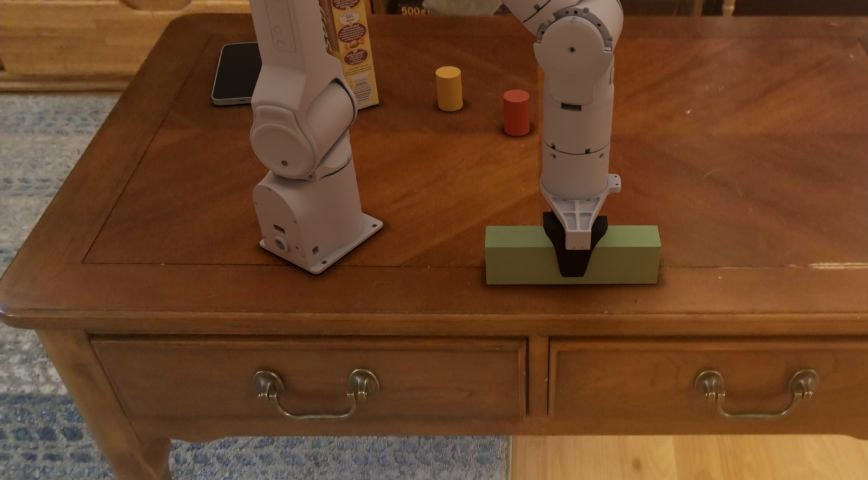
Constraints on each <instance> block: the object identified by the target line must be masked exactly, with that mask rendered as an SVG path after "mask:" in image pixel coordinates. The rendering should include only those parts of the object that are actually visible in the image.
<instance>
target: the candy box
mask: <svg viewBox="0 0 868 480" xmlns="http://www.w3.org/2000/svg"><path fill="white" fill-rule="evenodd" d="M318 1H319V7H320V13H321V19H322V26H323V32H324V38H325V44H326V51H327V53H328V54H329V55H331V56H333V57H335V58H336V59H338V60H339V61H341V63H342V68H343V74H344V77H345V80H346V82H347V84H348V85H349V87H350V88H351V90H352V91H353V93H354V95H355V98H356V101H357V106H358V111H359V110H362V109H365V108H366V109H367V108H369V107H372V106H376V105H379V103H380V99H379V94H378V93H379V92H378V87H377V81H376V80H377V79H376V73H375V66H374V59H373V53H372V47H371V40H370V33H369V32H370V31H369V27H368V25H369V24H368V19H367V18H368V17H367V12H366V5H365V0H318Z"/></svg>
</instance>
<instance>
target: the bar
mask: <svg viewBox="0 0 868 480" xmlns="http://www.w3.org/2000/svg"><path fill="white" fill-rule="evenodd" d="M661 252H662V243H661V237H660V233H659V227H658V225H656V224H655V225H654V224H653V225H651V224H650V225H644V224H643V225H642V224H641V225H638V224H637V225H634V224H633V225H630V224H628V225H625V224H623V225H621V224H620V225H608V229H607V231H606V234H605V235H604V236H603V237H602V238H601V239H600V240H599V242H598V243H597V245H596V246H595V248H594V250H593V252H592V255H591V258H590V261H589V264H588V267H587V269H586V272H585V274H584V276H583V277H562V276H561V273H560V270H559V266H558V261H557V256H556V252H555V249H554V246H553V244H552V242H551V240H550V239H549V238H548V236H547V235H546V233H545V231H544V228H543V225H486V226H485V237H484V257H485V258H484V259H485V260H484V261H485V276H486V278H485V279H486V285H640V284H641V285H645V284H648V285H650V284H652V285H656V284H657V282H658V275H659V266H660V260H661V254H662V253H661Z"/></svg>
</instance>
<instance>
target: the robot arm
mask: <svg viewBox="0 0 868 480" xmlns="http://www.w3.org/2000/svg"><path fill="white" fill-rule="evenodd" d="M500 1H501V2H502V3H503V4H504V6H505V7H506V8H507V9H508V10H509V11H510V12H511V14H513V15H514V17H515V18H516V19H517V20H518V21H519V22H520V23H521V24H522V25H523V27H524V28H525V29H526V30H527V31H528V32H530V33H531V34H532V35H533V36H534V37H535V38H537V39H536V42H534V43H533V44H532V48H533V53H534V57H535V60H536V61H537V64H538V65H539V67H540V68H541V70H542V71H543V72H544V73H543V74H544V79H543V80H544V82H543V85H542V137H541V139H542V140H541V143H542V144H541V145H542V146H541V147H542V148H541V150H542V153H541V155H542V156H541V174H540V177H539V191H540V193H541V195H542V197H543V198H544V199H545V201H546V202H547V204H548V206H549V208H550V211H542V226H543V228H544V231H545V233H546V235H547V236H548V238H549V239H550V240H551V242H552V244H553V246H554V249H555V252H556V256H557V261H558V266H559V270H560V273H561V276H562V277H583V276H584V274H585V272H586V269H587V267H588V264H589V261H590V258H591V255H592V252H593V250H594V248H595V246H596V245H597V243H598V242H599V240H600V239H601V238H602V237H603V236H604V235H605V234H606V231H607V229H608V226H609V222H608V215H599V213H600V211H601V209H602V207H603V205H604V203H605V201H606V199H607V197H608V195H610V194H618V193H620V192H621V190H622V180H621V176H620V175H619V174H616V173H609V168H610V152H611V140H612V128H613V127H612V126H613V125H612V124H613V112H614V101H615V99H614V98H615V85H614V79H615V54H614V51H615V48H616V46H617V44H618V41H619V39H620V36H621V34H622V31H623V27H624V17H625V16H624V10H623V6H622V4H621V1H620V0H500ZM248 5H249V8H250V13H251V18H252V23H253V27H254V32H255V36H256V42H258V46H259V50H260V55H261V60H262V68H261V72H260V75H259V78H258V81H257V84H256V87H255V90H254V93H253V96H252V100H251V103H250V105H251V109H252V114H253V115H252V116H253V121H252V124H251V128H250V130H249V142H250V146H251V148H252V151H253V153H254V155H255V156H256V158H257V159H258V160H259V161H260V163H261V164H262V165H263V166H265V168H267V169H268V172H267V173H266V175H265V176H264V177H263V178H262V179H261V180H260V181H259V182H258V183H257V184H256V185H255V186H254V187H253V189H252V193H251V196H252V197H251V198H252V203H253V207H254V210H255V214H256V218H257V221H258V225H259V228H260V232H261V236H262V239H261V240H260V241H259V246H260V248H262V249H264V250H266V251H267V252H270V253H272V254H274V255H276V256H278V257H280V258H282V259H284V260H286V261H288V262H290V263H291V264H294V265H296V266H298V267H300V268H302V269H303V270H305V271H307V272H309V273H311V274H313V275H320V274H321V273H323V272H324V271H325V270H326V269H328V268H330V267H331V266H332V265H333V264H335V263H336V262H338V261H339V260H340V259H342V258H343V257H344V256H345V255H347V254H349V253H350V252H351V251H352V250H354V249H355V248H356V247H358V246H359V245H361V244H362V243H363V242H365V241H366V240H368V239H369V238H370V237H372V235H374V234H376V232H378V231H380V230H381V229H382V228H383V227H384V223H383V221H382V220H381V219H378V218H375V217H373V216H371V215H369V214H366V213H364V212H363V211H362V210H363V209H362V204H361V198H360V192H359V186H358V181H357V175H356V168H355V163H354V156H353V151H352V146H351V143H350V141H351V136H350V130H349V129H350V128H351V126H352V125H353V124H354V123H355V121H356V119H357V117H358V111H359V110H358V106H357V101H356V98H355V95H354V93H353V91H352V90H351V88H350V87H349V85H348V84H347V82H346V80H345V77H344V74H343V68H342V63H341V61H339V60H338V59H336V58H335V57H333V56H331V55H329V54H328V53H327V51H326V44H325V38H324V32H323V26H322V19H321V13H320V7H319V1H318V0H248Z"/></svg>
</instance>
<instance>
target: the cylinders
mask: <svg viewBox="0 0 868 480" xmlns="http://www.w3.org/2000/svg"><path fill="white" fill-rule="evenodd" d="M435 82H436V83H435V84H436V95H437V106H438V109H440V110H441V111H443V112H456V111H459V110H461V109H462V107H463V106H464V103H463V85H462V71H461V69H460V68H459V67H456V66H451V65H446V66H440V67H439V68H437V69H436V70H435ZM502 98H503V99H502V100H503V103H502V104H503V130H504V133H505V134H506V135H509V136H511V137H523V136H526V135H527V134H528V133H530V125H531V124H530V122H531V121H530V118H531V117H530V107H531V105H530V100H531V99H530V94H529V92H528V91H526V90H522V89H519V88H517V89H516V88H515V89H510V90H507V91H506V92H504V93H503V95H502Z"/></svg>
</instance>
